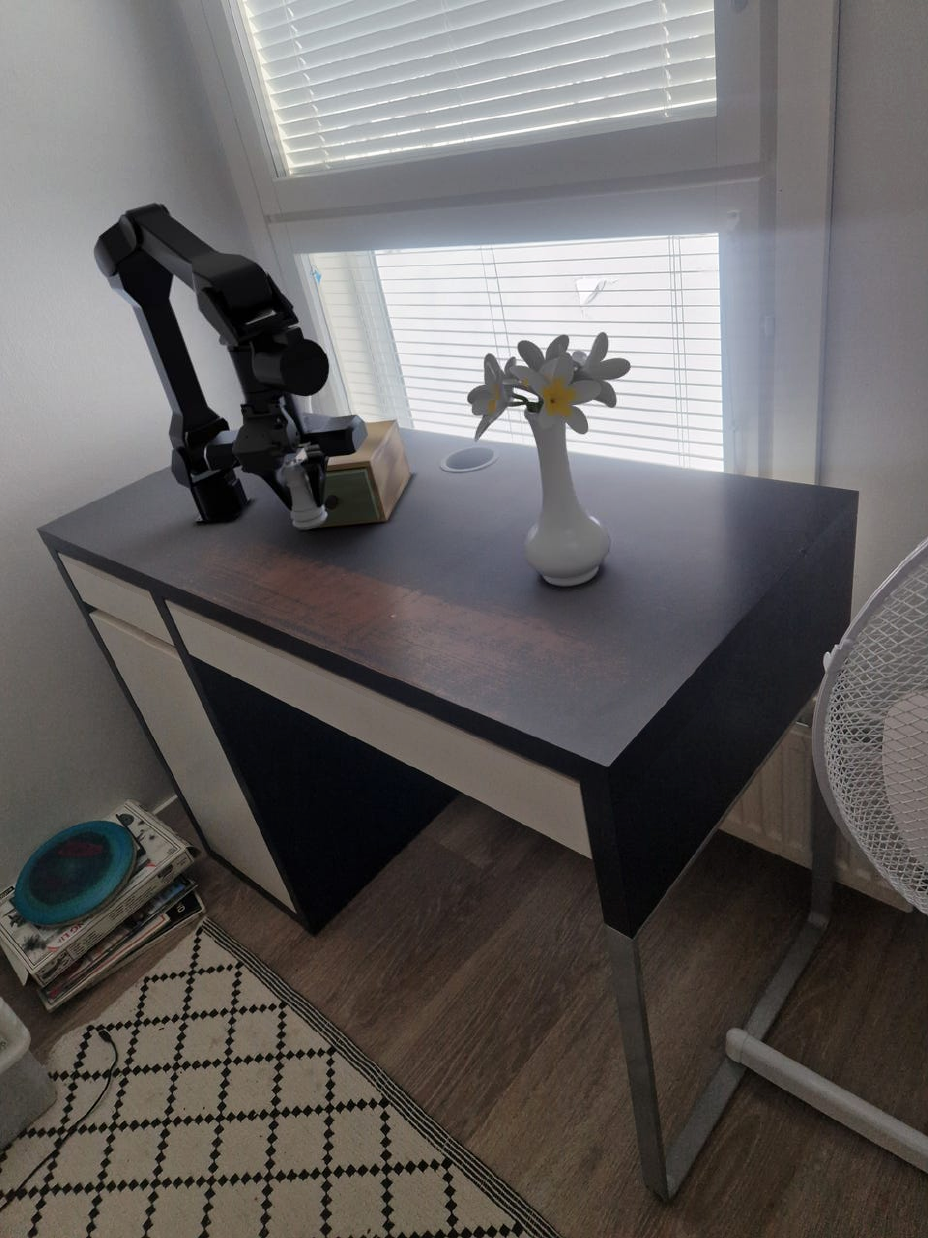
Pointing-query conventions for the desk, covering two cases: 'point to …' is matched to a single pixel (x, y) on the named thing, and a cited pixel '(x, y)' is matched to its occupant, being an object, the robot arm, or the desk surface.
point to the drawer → (349, 496)
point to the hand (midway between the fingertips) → (306, 507)
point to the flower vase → (555, 445)
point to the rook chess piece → (302, 497)
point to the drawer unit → (377, 465)
